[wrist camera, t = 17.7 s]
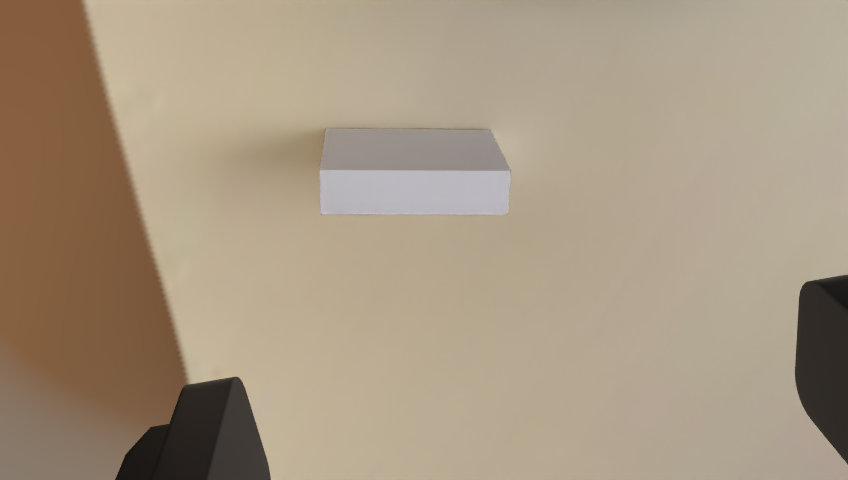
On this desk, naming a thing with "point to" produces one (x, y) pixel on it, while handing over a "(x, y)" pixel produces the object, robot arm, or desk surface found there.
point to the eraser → (413, 172)
